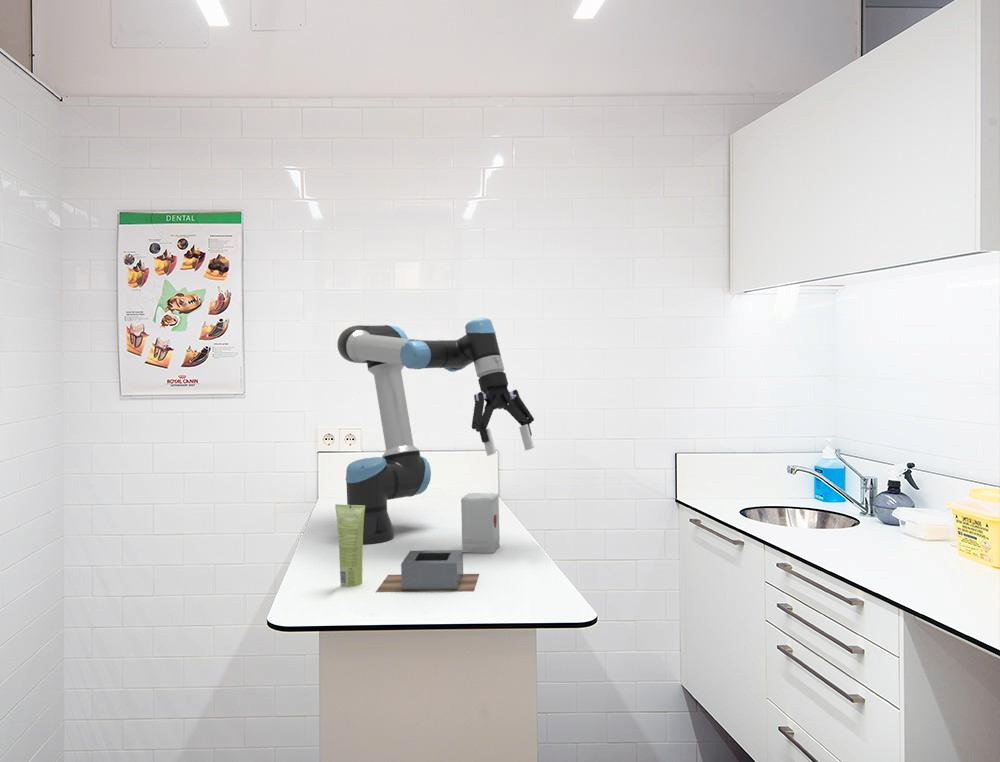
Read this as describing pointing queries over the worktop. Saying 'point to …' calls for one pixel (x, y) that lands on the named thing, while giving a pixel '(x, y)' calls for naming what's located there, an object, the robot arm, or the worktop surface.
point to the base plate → (395, 585)
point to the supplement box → (480, 522)
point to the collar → (432, 570)
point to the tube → (350, 543)
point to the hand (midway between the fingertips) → (511, 451)
